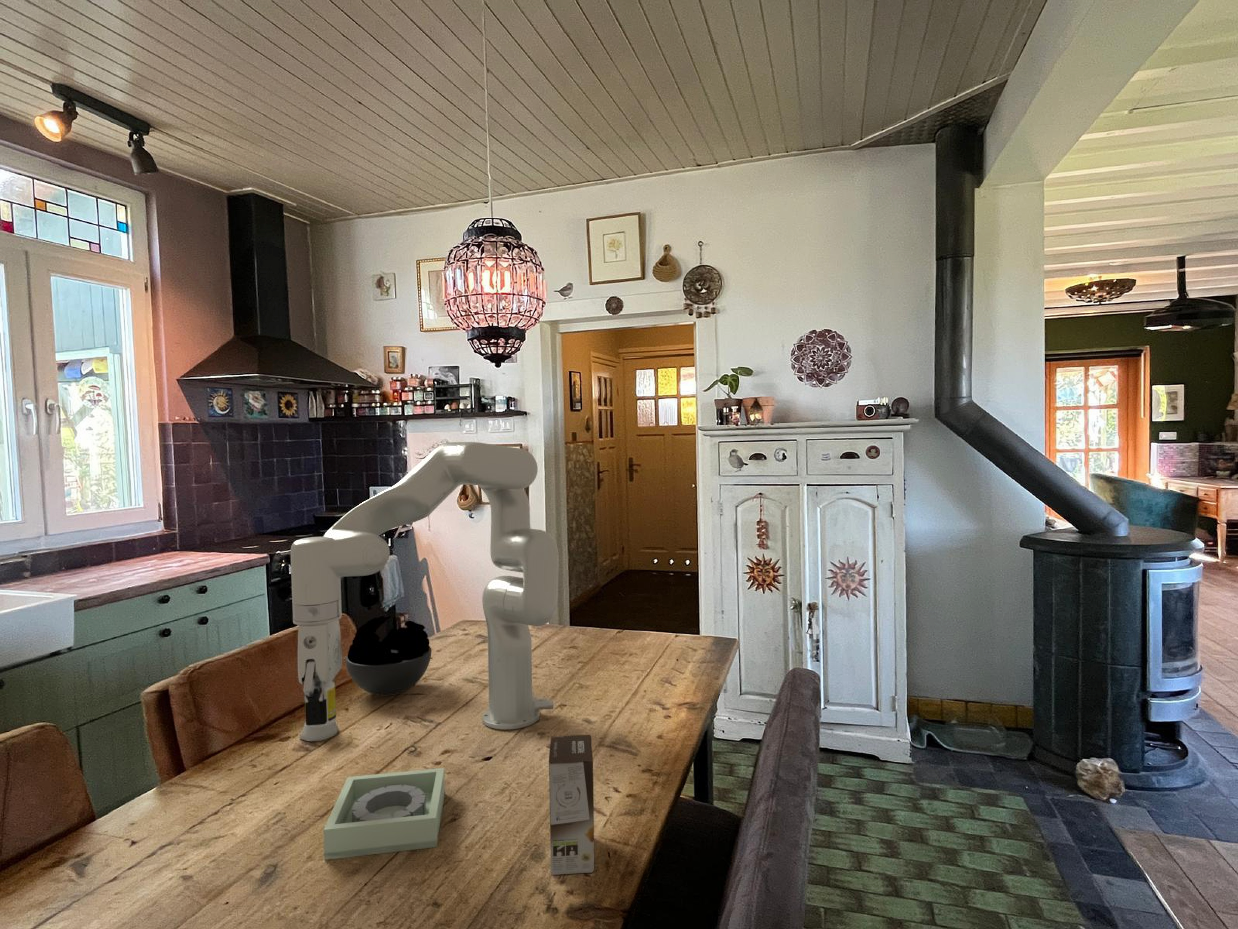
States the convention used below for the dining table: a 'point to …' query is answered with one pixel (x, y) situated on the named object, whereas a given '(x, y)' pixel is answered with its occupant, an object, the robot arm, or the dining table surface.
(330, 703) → the supplement bottle
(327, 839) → the socket box
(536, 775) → the dining table surface
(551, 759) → the coffee box
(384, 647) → the bowl of black rocks
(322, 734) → the flask
